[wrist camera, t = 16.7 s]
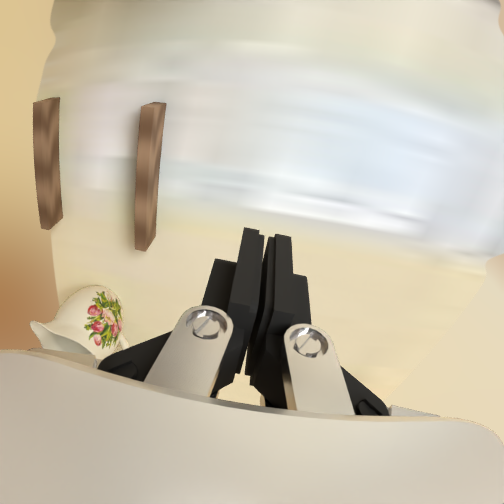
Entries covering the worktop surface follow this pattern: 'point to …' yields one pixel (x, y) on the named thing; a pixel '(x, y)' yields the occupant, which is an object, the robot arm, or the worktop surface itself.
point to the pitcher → (85, 324)
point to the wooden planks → (145, 171)
